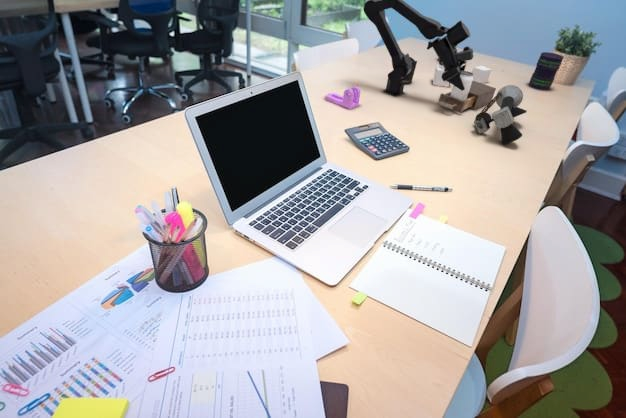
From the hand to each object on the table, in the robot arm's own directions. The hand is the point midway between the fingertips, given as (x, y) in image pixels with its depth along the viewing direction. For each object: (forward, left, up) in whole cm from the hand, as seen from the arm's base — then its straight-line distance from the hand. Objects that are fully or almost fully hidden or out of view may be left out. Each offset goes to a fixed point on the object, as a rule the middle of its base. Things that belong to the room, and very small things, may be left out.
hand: (464, 87), depth 153 cm
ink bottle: (-40, +58, -9) cm, 71 cm away
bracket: (-31, -37, -9) cm, 49 cm away
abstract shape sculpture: (+19, -5, -9) cm, 21 cm away
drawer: (-1, -1, -8) cm, 8 cm away
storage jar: (+9, +63, -9) cm, 64 cm away
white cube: (-13, +43, -9) cm, 46 cm away
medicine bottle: (-21, +21, -9) cm, 31 cm away
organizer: (-1, +12, -9) cm, 15 cm away
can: (-1, 0, -7) cm, 7 cm away
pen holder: (-33, +7, -9) cm, 35 cm away
